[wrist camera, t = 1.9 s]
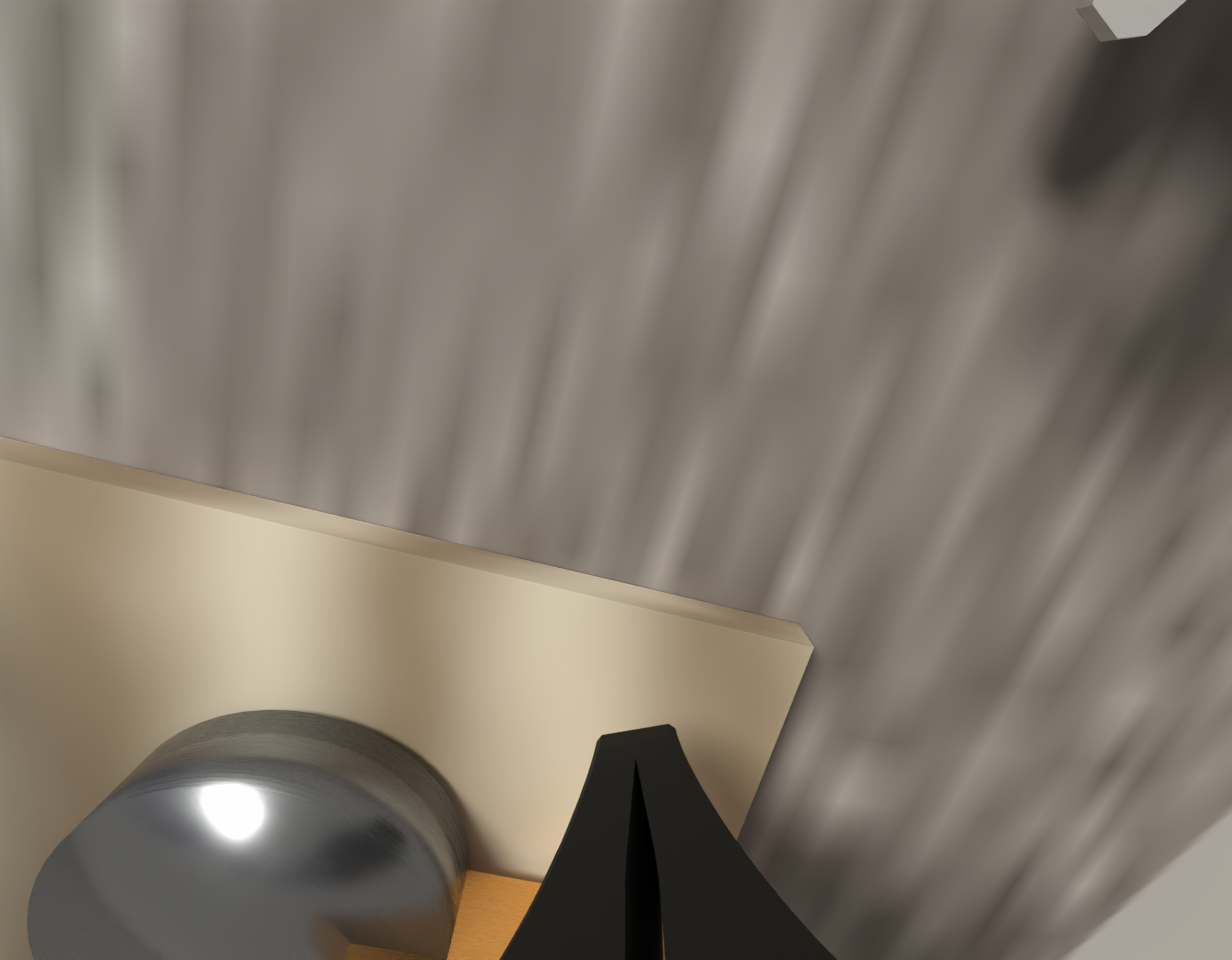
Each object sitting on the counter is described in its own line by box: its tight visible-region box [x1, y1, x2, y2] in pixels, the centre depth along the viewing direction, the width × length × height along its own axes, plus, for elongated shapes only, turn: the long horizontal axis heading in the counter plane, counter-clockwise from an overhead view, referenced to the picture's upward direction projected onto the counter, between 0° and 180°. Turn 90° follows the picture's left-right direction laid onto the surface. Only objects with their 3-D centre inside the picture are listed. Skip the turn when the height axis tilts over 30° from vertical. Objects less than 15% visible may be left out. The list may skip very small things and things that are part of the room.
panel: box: [0, 437, 814, 960], centre depth 15 cm, size 18×18×1 cm
